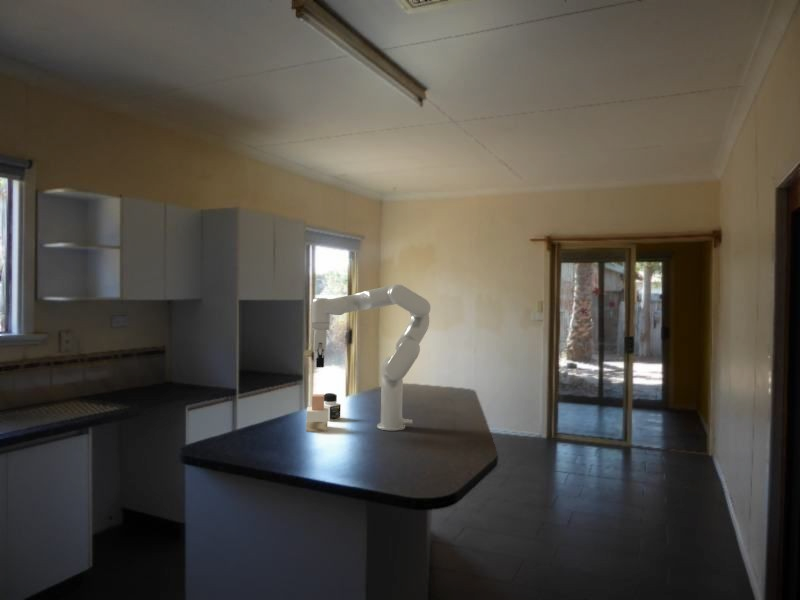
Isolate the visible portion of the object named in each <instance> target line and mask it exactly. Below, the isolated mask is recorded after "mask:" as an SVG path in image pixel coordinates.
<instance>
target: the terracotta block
mask: <svg viewBox="0 0 800 600" xmlns="http://www.w3.org/2000/svg"><path fill="white" fill-rule="evenodd" d="M311 407H312V410H324V393H323V394H321V393H320V394H318V393H316V394H312V395H311Z"/></svg>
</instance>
